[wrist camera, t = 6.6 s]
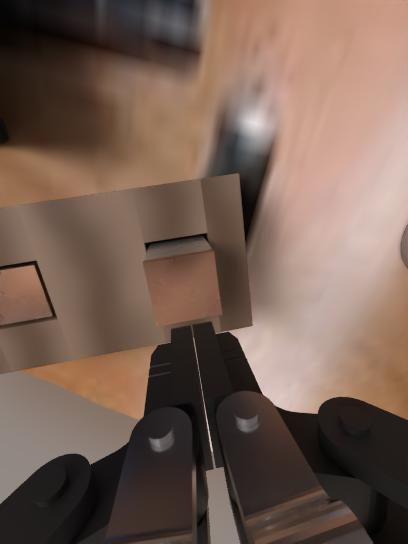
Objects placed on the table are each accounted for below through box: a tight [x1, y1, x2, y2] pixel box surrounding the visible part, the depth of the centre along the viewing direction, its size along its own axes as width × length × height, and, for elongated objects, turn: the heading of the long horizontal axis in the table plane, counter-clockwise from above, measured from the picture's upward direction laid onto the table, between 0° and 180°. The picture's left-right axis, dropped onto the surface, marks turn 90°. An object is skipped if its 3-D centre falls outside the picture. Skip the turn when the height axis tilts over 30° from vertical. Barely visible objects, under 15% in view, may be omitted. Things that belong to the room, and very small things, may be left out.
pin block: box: [0, 173, 253, 374], centre depth 22 cm, size 22×12×8 cm, turn 98°
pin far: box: [0, 260, 55, 325], centre depth 21 cm, size 4×4×7 cm
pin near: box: [143, 234, 222, 327], centre depth 18 cm, size 4×4×7 cm
